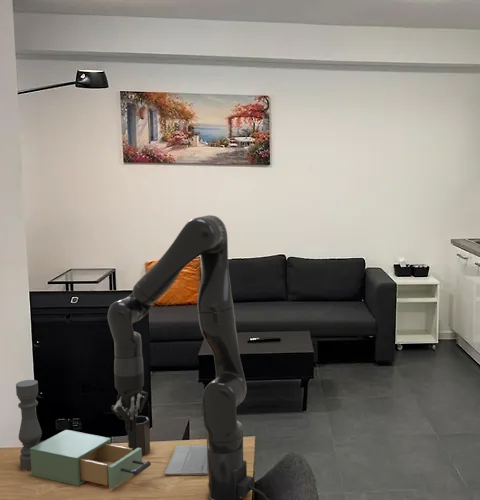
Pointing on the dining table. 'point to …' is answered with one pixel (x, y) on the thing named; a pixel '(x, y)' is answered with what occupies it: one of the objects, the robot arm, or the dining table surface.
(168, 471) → the laptop
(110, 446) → the drawer
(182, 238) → the robot arm
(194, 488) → the dining table surface
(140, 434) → the tumbler
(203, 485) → the dining table surface
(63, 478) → the cabinet
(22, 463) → the candle holder
